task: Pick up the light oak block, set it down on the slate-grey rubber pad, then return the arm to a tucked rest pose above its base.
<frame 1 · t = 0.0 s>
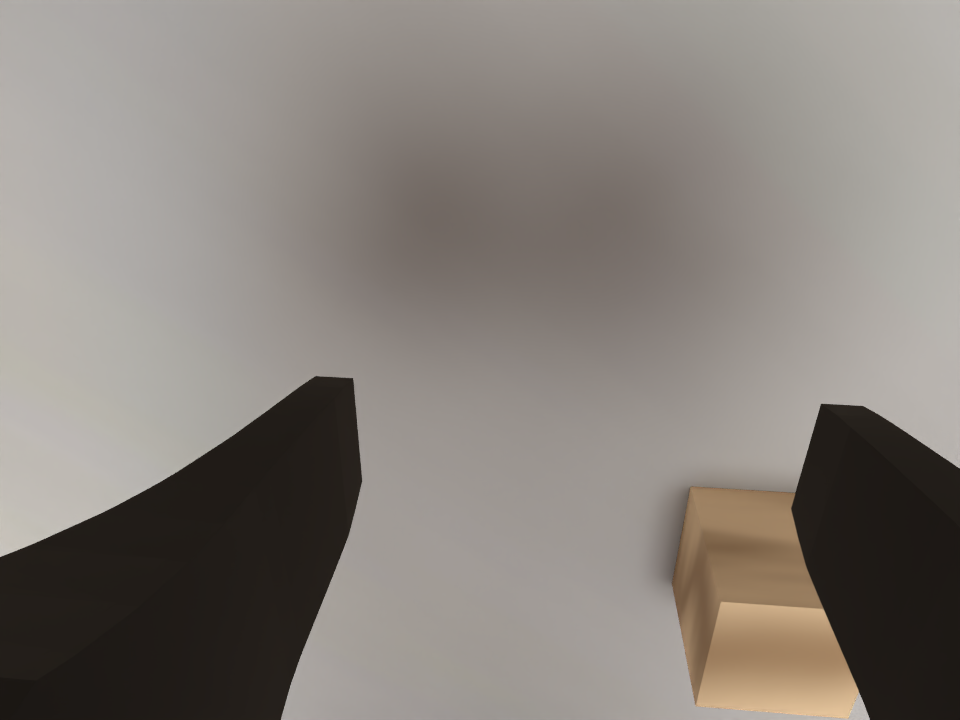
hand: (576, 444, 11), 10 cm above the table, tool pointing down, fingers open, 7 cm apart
oak block: (746, 540, 25), on the table
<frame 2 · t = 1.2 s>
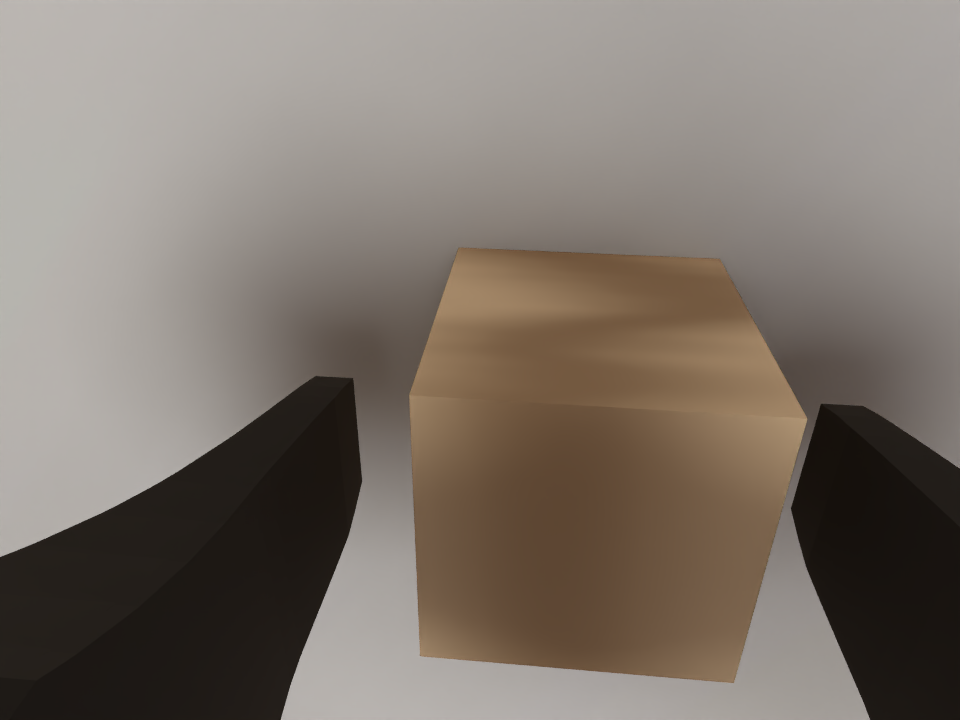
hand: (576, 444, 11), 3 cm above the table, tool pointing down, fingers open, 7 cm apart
oak block: (577, 364, 14), on the table
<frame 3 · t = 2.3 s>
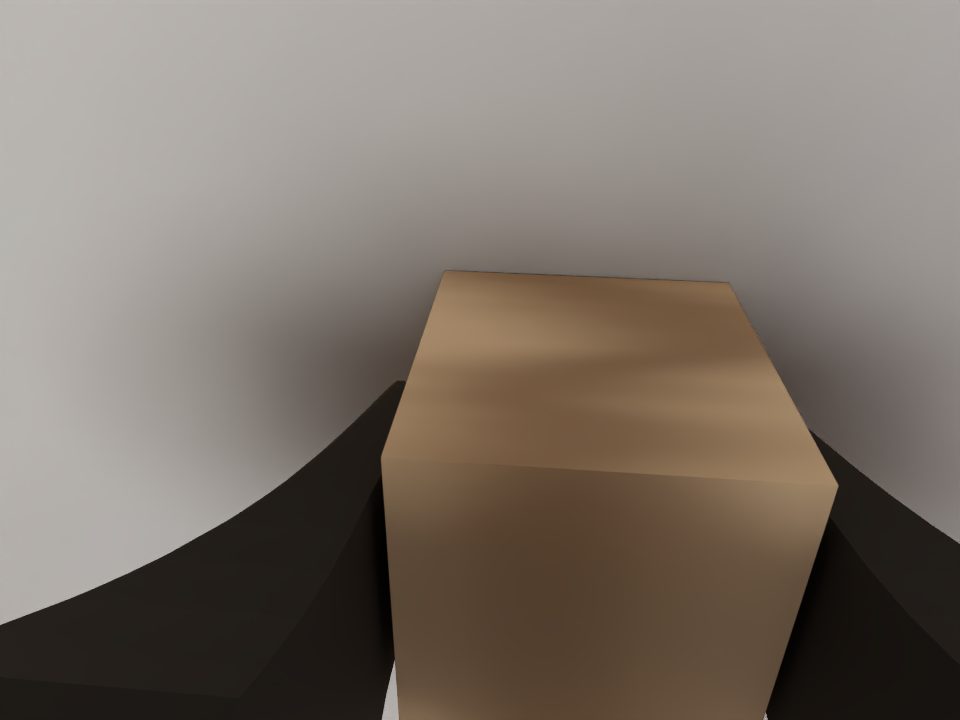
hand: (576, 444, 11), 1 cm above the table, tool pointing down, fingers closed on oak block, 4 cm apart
oak block: (574, 396, 13), on the table, touching gripper
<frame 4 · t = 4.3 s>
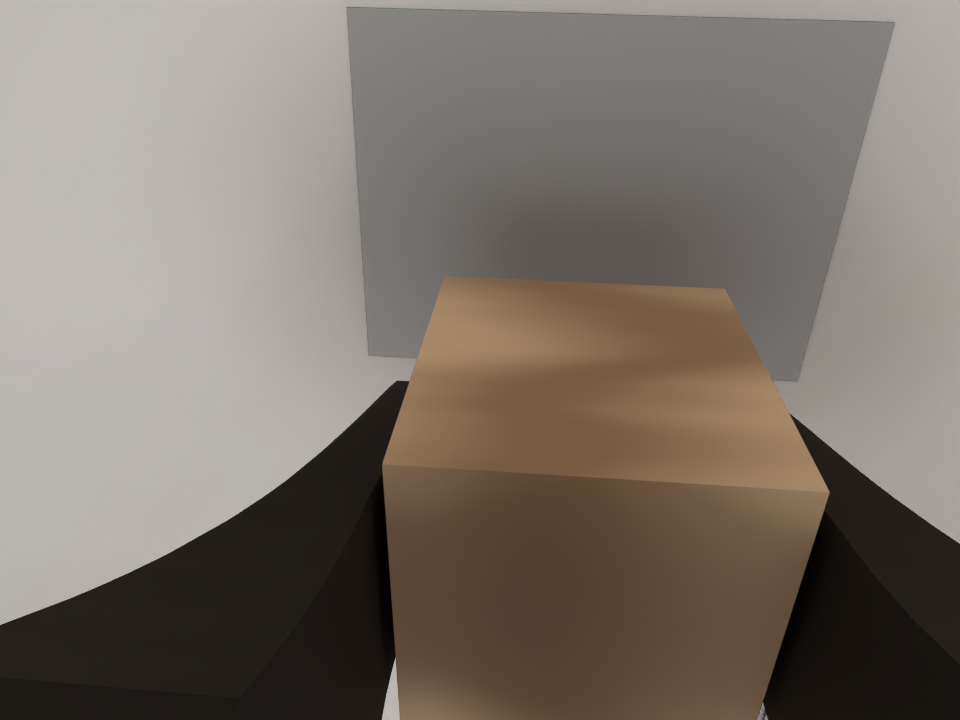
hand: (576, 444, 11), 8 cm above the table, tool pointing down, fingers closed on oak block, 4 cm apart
oak block: (572, 399, 13), point 7 cm above the table, touching gripper
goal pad: (594, 212, 18), on the table
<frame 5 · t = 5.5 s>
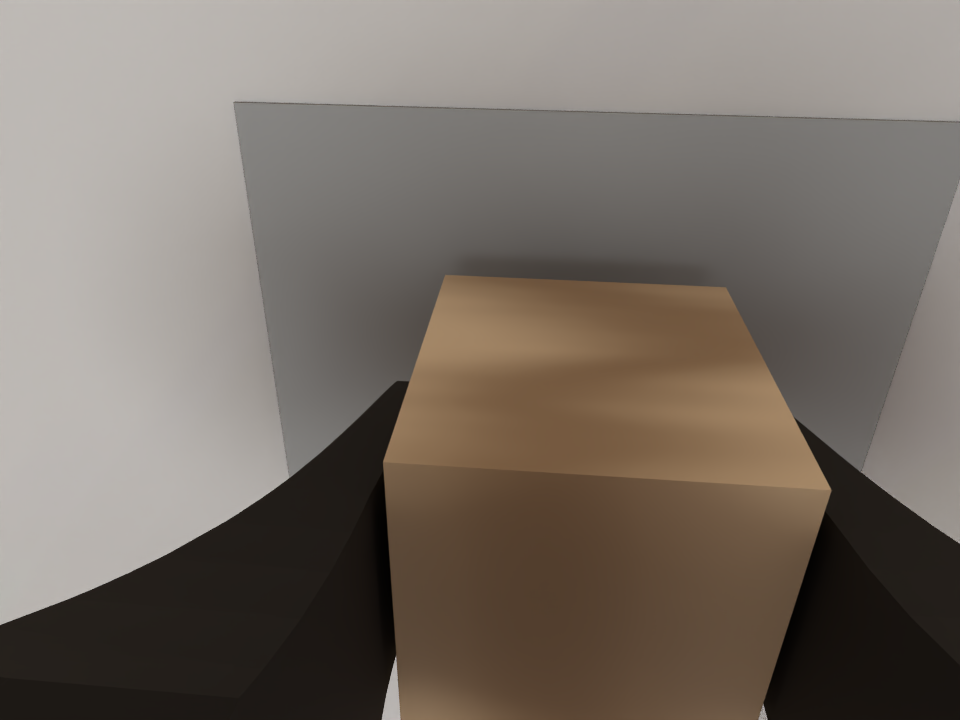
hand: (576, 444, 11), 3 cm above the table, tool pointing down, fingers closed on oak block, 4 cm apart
oak block: (573, 398, 13), point 1 cm above the table, touching gripper
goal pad: (572, 354, 14), on the table
when the fingers open (3 cm above the table, at t = 6.3 s): oak block drops 1 cm, resting on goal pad.
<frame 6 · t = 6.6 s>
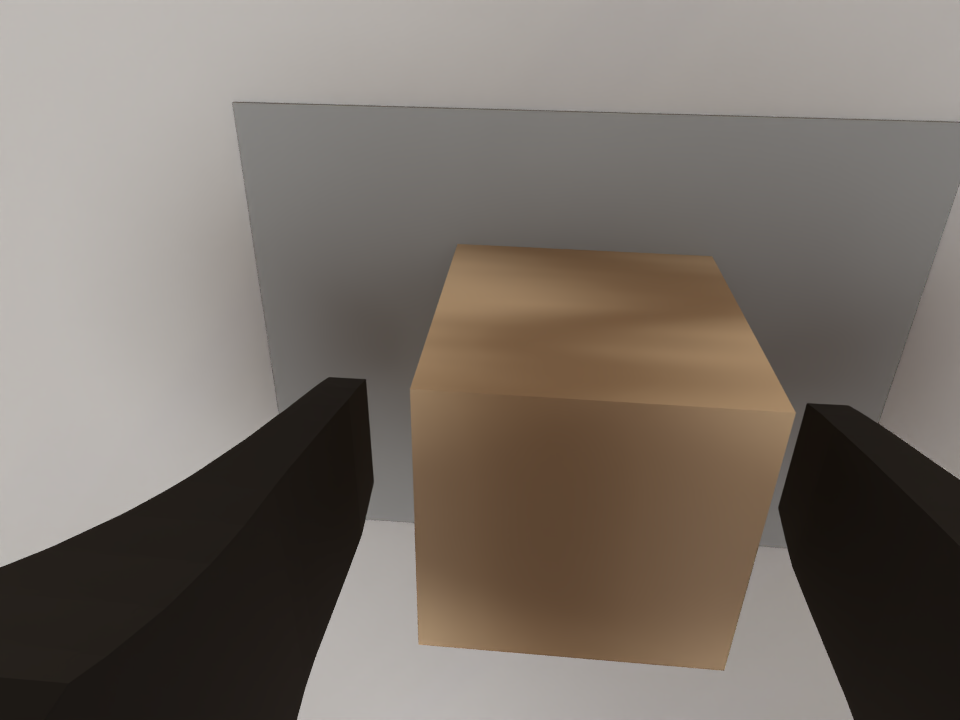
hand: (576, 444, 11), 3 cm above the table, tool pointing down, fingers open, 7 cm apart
oak block: (572, 360, 14), resting on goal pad
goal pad: (572, 355, 14), on the table
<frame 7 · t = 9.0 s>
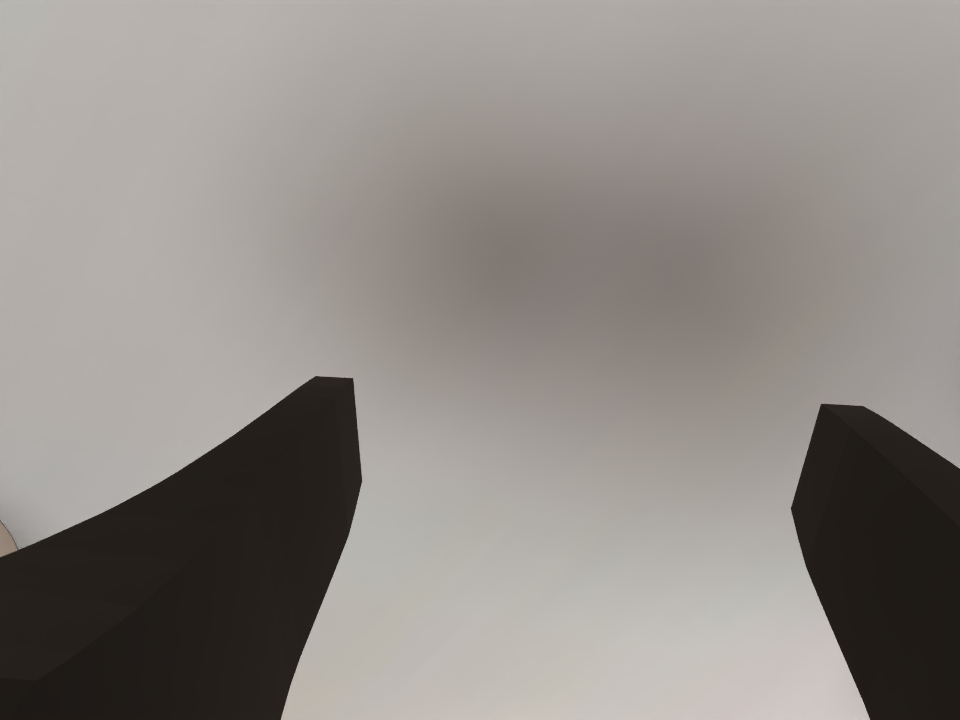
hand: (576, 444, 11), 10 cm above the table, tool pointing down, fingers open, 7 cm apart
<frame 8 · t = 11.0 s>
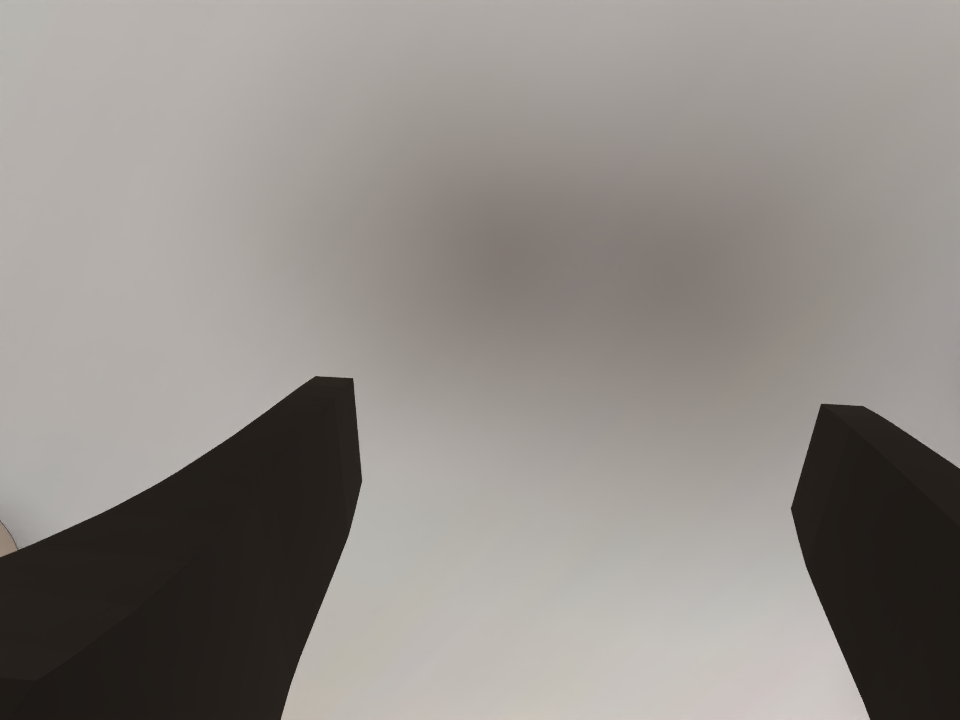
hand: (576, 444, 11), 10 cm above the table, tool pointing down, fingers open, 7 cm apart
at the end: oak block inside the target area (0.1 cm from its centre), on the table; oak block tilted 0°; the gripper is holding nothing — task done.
